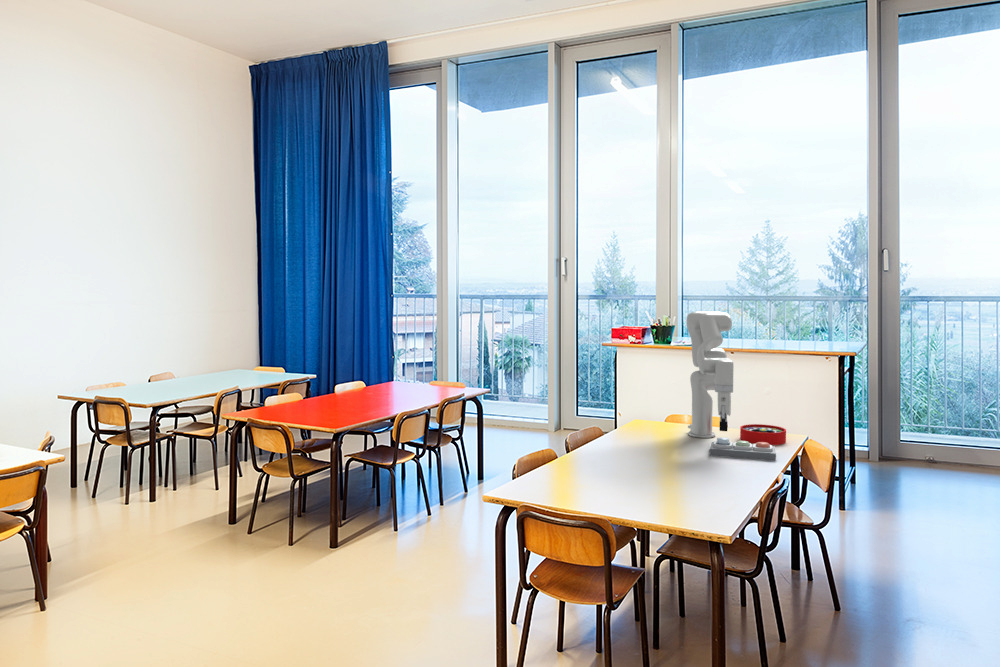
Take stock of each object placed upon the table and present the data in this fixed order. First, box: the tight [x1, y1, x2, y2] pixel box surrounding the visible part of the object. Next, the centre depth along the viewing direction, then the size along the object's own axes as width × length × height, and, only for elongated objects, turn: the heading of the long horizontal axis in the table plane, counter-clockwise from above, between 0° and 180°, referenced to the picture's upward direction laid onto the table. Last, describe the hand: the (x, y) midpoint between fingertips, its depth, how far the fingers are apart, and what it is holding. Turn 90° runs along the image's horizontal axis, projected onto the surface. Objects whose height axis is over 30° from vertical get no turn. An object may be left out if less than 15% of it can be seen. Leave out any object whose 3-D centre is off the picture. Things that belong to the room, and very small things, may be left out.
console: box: [709, 440, 777, 462], centre depth 290 cm, size 26×14×4 cm, turn 69°
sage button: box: [736, 440, 749, 447], centre depth 290 cm, size 5×5×2 cm
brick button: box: [756, 442, 769, 448], centre depth 287 cm, size 5×5×2 cm
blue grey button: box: [716, 437, 730, 445], centre depth 293 cm, size 5×5×2 cm
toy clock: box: [739, 423, 787, 446], centre depth 317 cm, size 20×6×20 cm
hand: (723, 430), depth 292 cm, fingers closed
